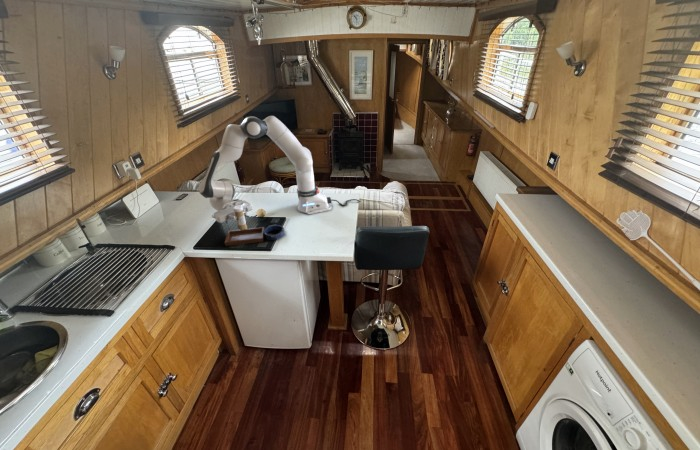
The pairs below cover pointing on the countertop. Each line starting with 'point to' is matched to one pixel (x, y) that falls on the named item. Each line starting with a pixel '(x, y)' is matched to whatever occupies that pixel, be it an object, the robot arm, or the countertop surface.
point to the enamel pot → (274, 237)
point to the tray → (245, 236)
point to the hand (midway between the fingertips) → (240, 216)
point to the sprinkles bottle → (240, 217)
